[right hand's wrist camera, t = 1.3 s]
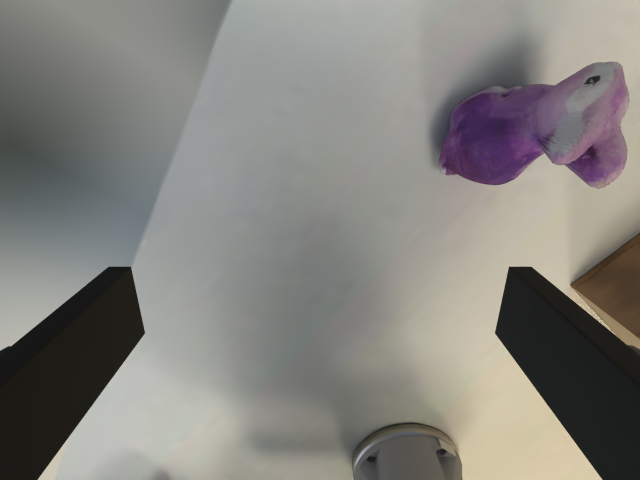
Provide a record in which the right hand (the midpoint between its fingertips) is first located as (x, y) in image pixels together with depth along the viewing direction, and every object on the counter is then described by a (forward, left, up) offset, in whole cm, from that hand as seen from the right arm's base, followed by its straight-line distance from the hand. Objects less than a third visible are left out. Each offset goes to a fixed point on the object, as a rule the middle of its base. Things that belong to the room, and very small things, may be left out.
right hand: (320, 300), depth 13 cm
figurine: (+1, -17, -26) cm, 31 cm away
